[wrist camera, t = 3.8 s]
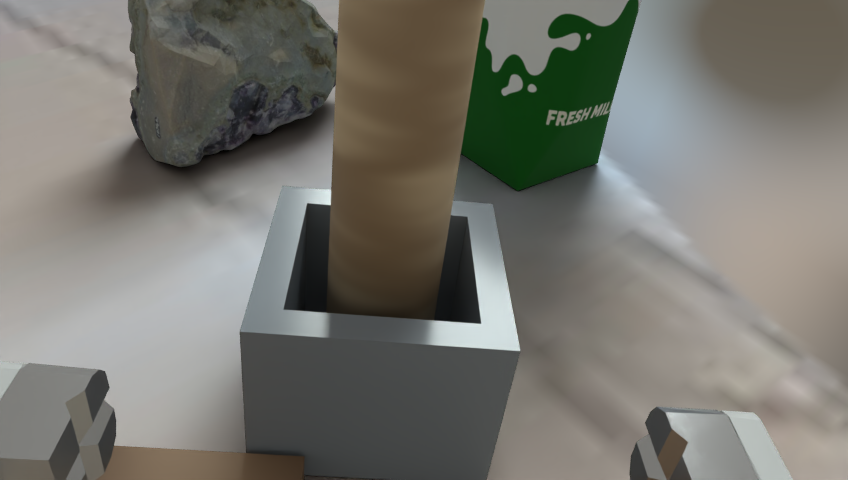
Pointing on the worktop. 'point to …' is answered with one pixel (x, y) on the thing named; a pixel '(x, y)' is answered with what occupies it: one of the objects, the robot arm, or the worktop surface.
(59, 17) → the worktop surface
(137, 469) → the tray
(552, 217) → the worktop surface
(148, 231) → the worktop surface
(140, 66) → the mineral rock
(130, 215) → the worktop surface
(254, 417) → the open box
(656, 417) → the robot arm
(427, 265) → the dowel
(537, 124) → the milk carton
